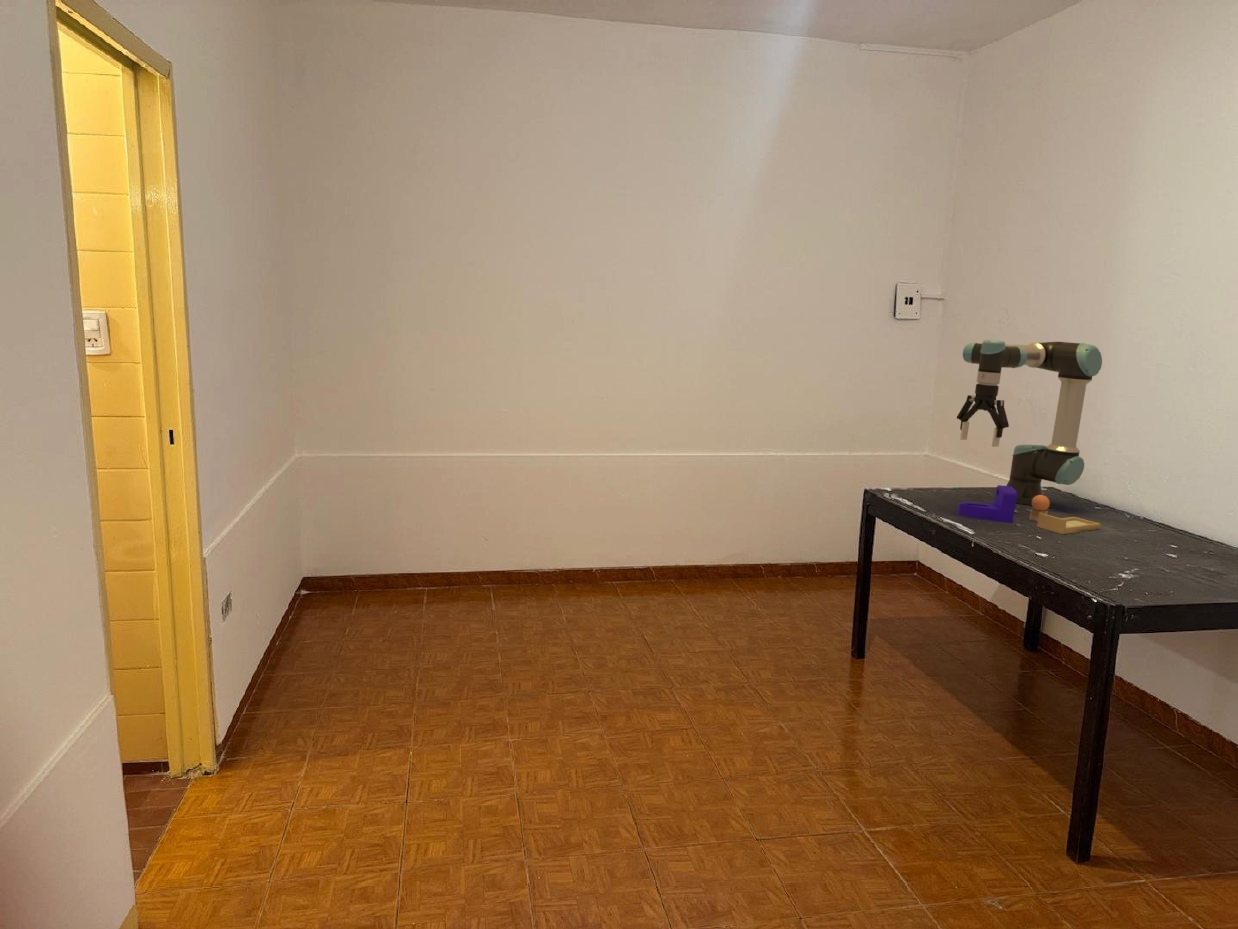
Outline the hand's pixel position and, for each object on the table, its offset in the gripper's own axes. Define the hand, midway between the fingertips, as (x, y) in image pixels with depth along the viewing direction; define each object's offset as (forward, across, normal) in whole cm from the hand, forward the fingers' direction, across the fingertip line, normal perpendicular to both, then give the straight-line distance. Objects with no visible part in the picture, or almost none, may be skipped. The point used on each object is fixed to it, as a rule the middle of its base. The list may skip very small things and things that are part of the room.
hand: (979, 443), depth 311 cm
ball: (+21, +10, +25) cm, 35 cm away
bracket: (+28, 0, +8) cm, 29 cm away
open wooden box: (+28, +10, +25) cm, 39 cm away
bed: (+28, +21, +27) cm, 45 cm away
